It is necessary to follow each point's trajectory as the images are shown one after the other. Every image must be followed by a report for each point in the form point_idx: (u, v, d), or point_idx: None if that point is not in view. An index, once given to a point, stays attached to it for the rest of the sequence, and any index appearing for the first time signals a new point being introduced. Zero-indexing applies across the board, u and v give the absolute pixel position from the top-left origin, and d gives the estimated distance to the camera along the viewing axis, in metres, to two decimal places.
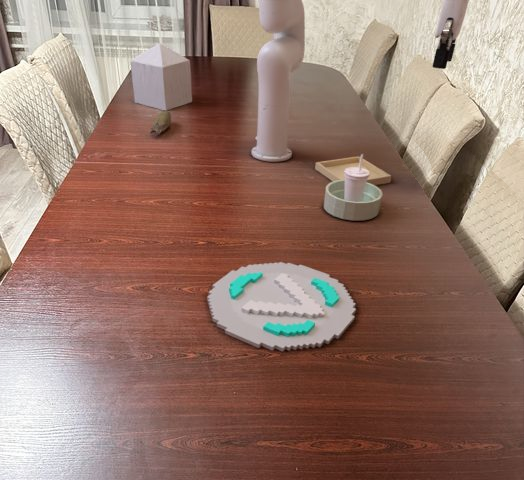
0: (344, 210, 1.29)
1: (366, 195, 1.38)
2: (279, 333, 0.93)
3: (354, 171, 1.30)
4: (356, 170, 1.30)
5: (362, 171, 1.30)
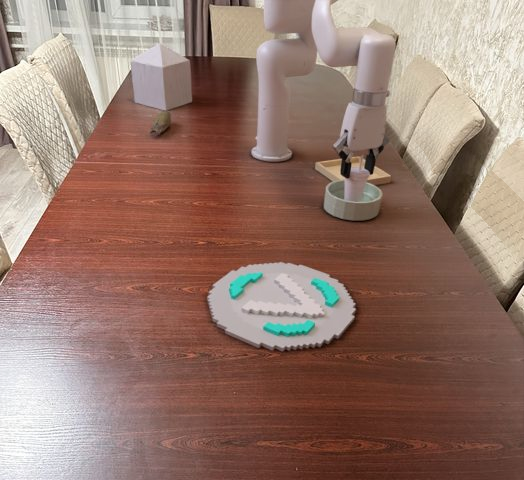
0: (344, 210, 1.29)
1: (366, 195, 1.38)
2: (279, 333, 0.93)
3: (354, 171, 1.30)
4: (356, 170, 1.30)
5: (362, 171, 1.30)
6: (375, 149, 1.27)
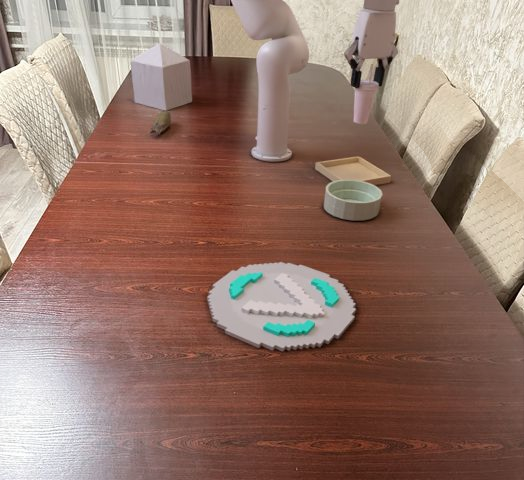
0: (344, 210, 1.29)
1: (366, 195, 1.38)
2: (279, 333, 0.93)
3: (364, 82, 1.35)
4: (366, 81, 1.35)
5: (371, 82, 1.35)
6: (384, 59, 1.32)
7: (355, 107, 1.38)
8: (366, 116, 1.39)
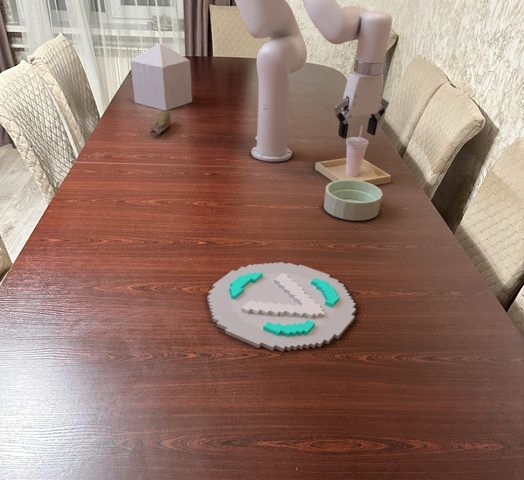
0: (344, 210, 1.29)
1: (366, 195, 1.38)
2: (279, 333, 0.93)
3: (355, 140, 1.47)
4: (356, 139, 1.47)
5: (362, 140, 1.47)
6: (377, 112, 1.43)
7: (347, 162, 1.50)
8: (357, 170, 1.51)
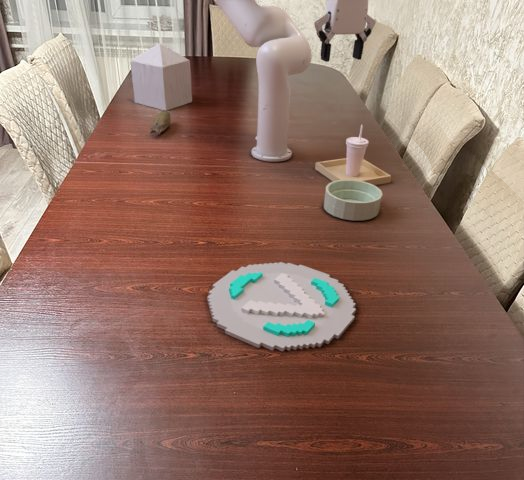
0: (344, 210, 1.29)
1: (366, 195, 1.38)
2: (279, 333, 0.93)
3: (355, 140, 1.47)
4: (356, 139, 1.47)
5: (362, 140, 1.47)
6: (363, 31, 1.31)
7: (347, 162, 1.50)
8: (357, 170, 1.51)
